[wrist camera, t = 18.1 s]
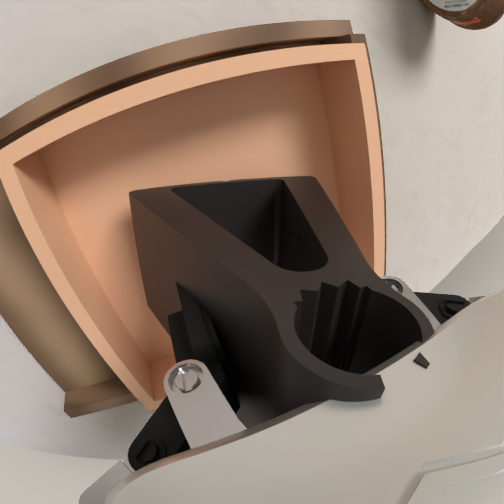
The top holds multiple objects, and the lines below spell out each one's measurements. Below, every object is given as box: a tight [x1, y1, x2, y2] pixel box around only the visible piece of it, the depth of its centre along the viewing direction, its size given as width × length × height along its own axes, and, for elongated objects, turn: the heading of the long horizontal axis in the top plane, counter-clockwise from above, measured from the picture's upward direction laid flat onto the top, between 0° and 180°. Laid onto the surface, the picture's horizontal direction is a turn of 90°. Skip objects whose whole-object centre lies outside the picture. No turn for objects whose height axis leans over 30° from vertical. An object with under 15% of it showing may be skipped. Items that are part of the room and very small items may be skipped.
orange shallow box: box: [0, 43, 385, 411], centre depth 16 cm, size 17×17×4 cm
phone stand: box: [129, 176, 435, 429], centre depth 10 cm, size 9×6×12 cm, turn 89°
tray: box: [0, 20, 386, 418], centre depth 16 cm, size 26×20×4 cm
